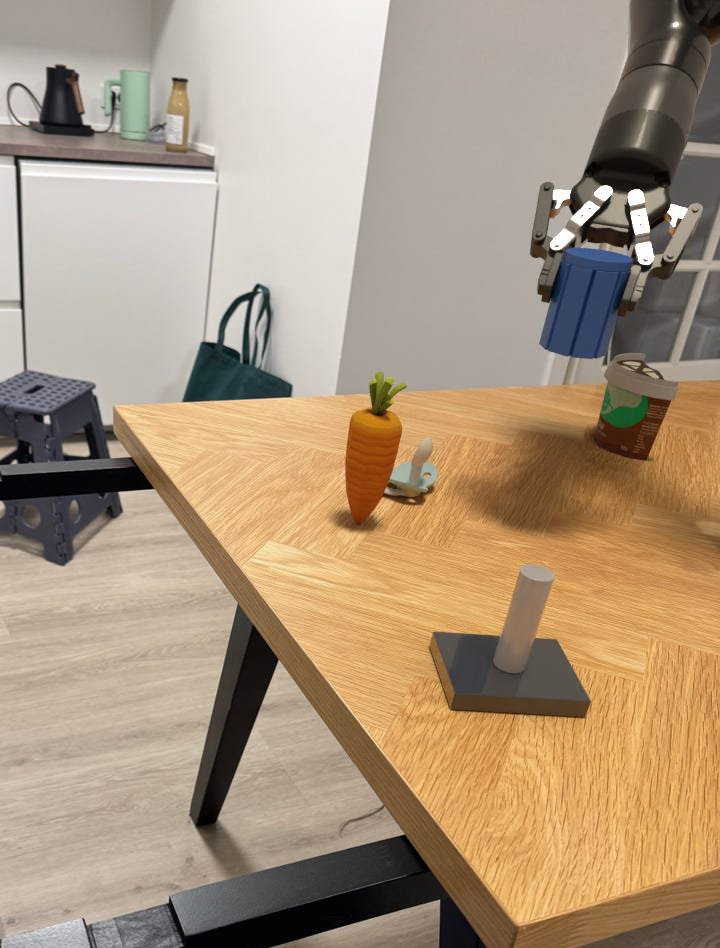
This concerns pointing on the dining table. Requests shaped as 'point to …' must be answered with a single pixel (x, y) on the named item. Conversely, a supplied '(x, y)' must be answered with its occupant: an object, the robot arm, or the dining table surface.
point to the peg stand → (511, 660)
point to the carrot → (372, 448)
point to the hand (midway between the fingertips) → (584, 303)
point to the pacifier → (414, 473)
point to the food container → (633, 406)
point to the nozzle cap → (585, 302)
